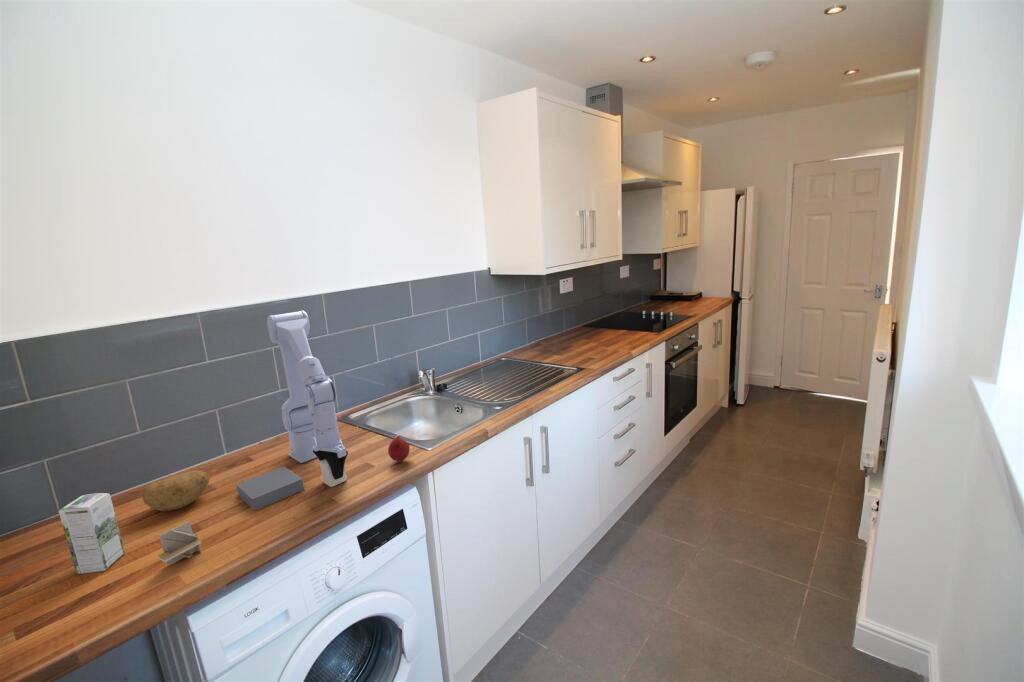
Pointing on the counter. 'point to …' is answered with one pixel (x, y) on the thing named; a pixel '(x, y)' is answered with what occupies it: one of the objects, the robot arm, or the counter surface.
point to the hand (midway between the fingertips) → (334, 475)
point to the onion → (398, 449)
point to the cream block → (330, 474)
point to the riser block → (269, 487)
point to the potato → (176, 491)
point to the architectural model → (179, 544)
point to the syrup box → (92, 533)
